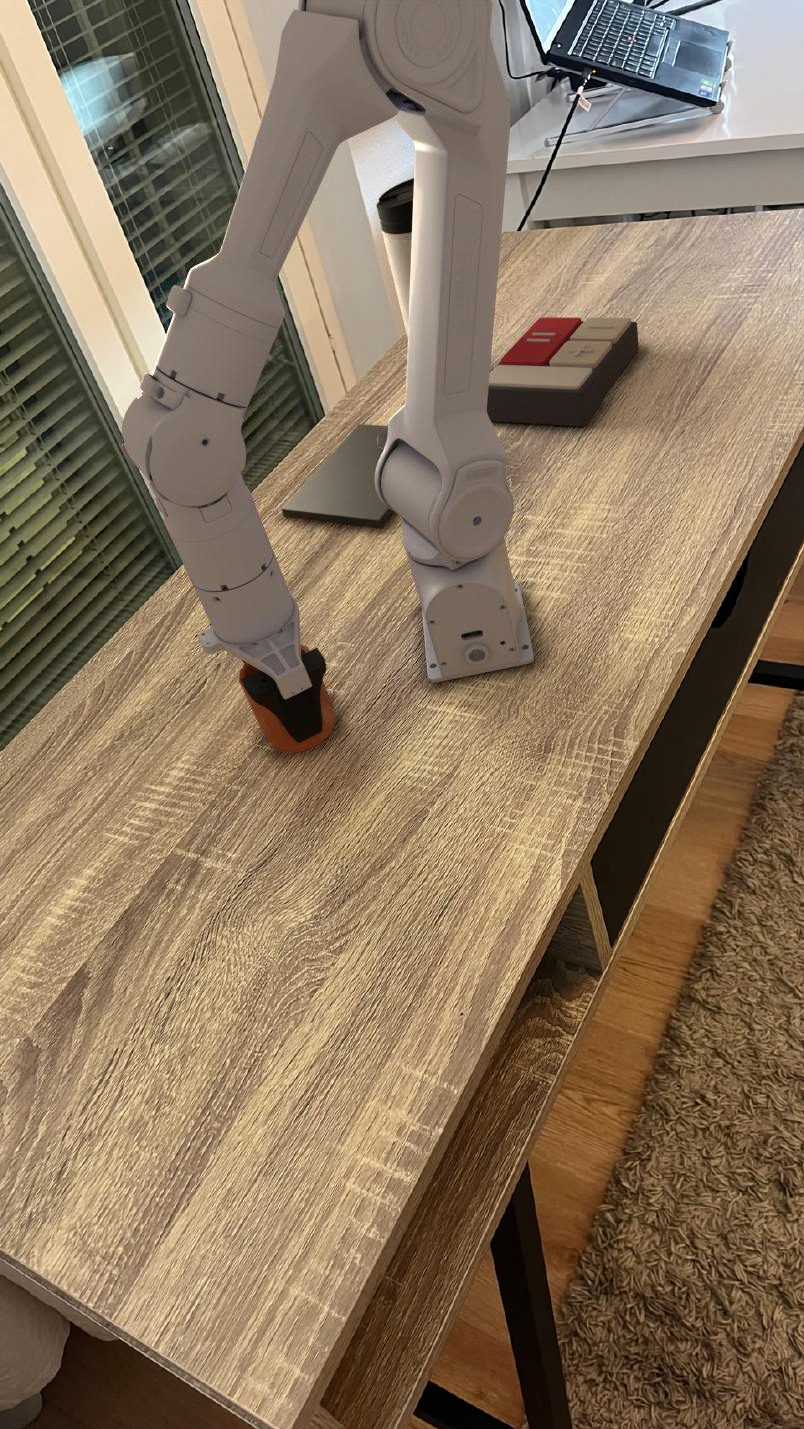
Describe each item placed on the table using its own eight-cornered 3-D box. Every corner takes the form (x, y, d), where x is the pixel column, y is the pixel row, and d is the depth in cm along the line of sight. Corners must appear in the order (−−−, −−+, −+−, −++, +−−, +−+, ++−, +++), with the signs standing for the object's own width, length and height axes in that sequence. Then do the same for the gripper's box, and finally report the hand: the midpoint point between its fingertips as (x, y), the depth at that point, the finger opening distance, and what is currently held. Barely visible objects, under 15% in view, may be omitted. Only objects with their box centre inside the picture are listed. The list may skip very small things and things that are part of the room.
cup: (335, 745, 78) (312, 685, 74) (263, 759, 79) (236, 701, 75) (336, 694, 82) (313, 635, 78) (267, 708, 83) (241, 650, 79)
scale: (388, 529, 96) (381, 506, 95) (283, 517, 102) (275, 495, 100) (461, 438, 105) (456, 415, 103) (360, 431, 110) (354, 410, 109)
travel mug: (481, 386, 111) (441, 187, 98) (419, 399, 112) (371, 204, 99) (479, 359, 116) (440, 164, 102) (419, 371, 117) (373, 181, 103)
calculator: (638, 313, 107) (580, 384, 98) (640, 354, 109) (585, 427, 100) (536, 313, 112) (473, 380, 103) (541, 352, 115) (480, 421, 106)
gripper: (148, 541, 75) (216, 682, 84) (207, 647, 64) (278, 795, 73) (240, 499, 76) (297, 643, 85) (313, 597, 65) (369, 748, 75)
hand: (294, 710), depth 79 cm, fingers closed on cup, 5 cm apart
